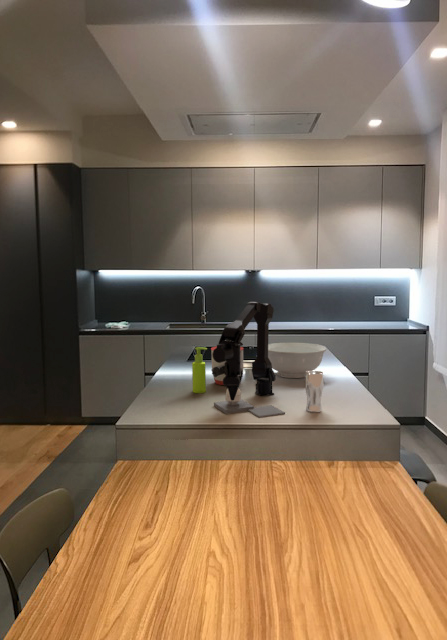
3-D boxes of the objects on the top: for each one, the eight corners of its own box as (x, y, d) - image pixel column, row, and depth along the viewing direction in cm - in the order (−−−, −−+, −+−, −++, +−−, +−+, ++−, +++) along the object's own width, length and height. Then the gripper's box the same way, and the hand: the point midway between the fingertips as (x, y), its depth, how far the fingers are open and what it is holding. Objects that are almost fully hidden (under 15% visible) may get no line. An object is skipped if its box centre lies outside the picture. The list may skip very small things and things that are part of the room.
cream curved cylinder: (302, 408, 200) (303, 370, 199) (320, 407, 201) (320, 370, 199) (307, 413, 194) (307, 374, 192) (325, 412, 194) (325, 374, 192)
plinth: (241, 402, 209) (240, 389, 209) (253, 410, 198) (253, 396, 198) (213, 405, 205) (213, 392, 204) (225, 413, 194) (225, 399, 193)
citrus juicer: (250, 380, 249) (250, 339, 246) (236, 388, 233) (235, 345, 231) (221, 377, 255) (220, 338, 253) (205, 385, 239) (205, 343, 237)
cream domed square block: (227, 397, 204) (227, 386, 204) (241, 397, 204) (241, 387, 203) (225, 401, 199) (225, 390, 198) (239, 401, 198) (239, 390, 198)
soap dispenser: (206, 393, 224) (205, 348, 222) (191, 392, 226) (190, 348, 224) (209, 390, 230) (208, 346, 228) (194, 389, 231) (193, 346, 229)
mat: (271, 406, 203) (271, 405, 203) (285, 413, 193) (285, 412, 193) (246, 409, 199) (246, 408, 199) (259, 417, 189) (259, 416, 189)
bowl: (307, 366, 279) (307, 340, 278) (337, 379, 249) (338, 349, 247) (252, 371, 270) (252, 343, 268) (277, 384, 239) (277, 354, 237)
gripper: (216, 353, 210) (216, 390, 211) (209, 362, 191) (209, 403, 193) (243, 354, 208) (243, 391, 210) (238, 363, 190) (239, 403, 192)
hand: (233, 397), depth 201 cm, fingers open, 9 cm apart
